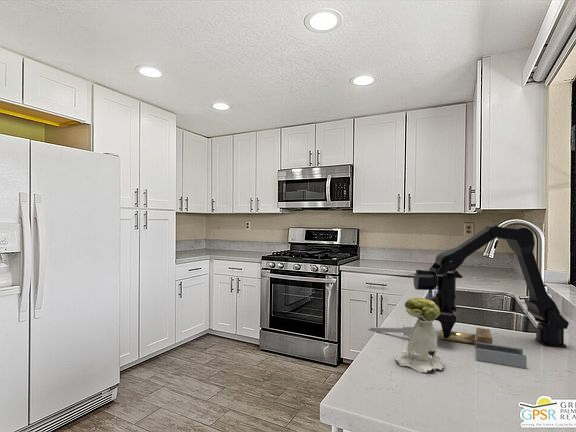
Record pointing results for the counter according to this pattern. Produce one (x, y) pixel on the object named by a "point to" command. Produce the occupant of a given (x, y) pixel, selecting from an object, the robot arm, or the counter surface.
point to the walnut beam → (483, 336)
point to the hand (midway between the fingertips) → (445, 336)
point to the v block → (501, 355)
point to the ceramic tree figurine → (421, 337)
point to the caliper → (392, 330)
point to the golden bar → (459, 337)
